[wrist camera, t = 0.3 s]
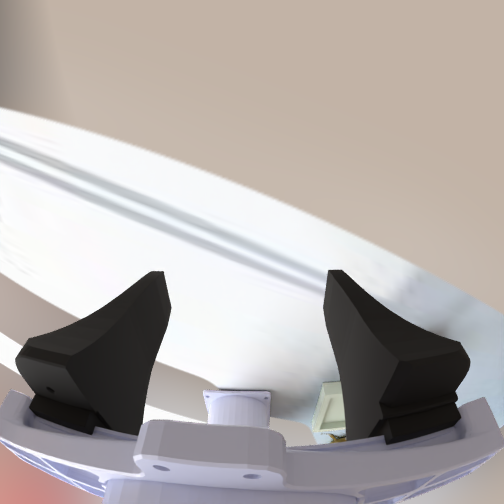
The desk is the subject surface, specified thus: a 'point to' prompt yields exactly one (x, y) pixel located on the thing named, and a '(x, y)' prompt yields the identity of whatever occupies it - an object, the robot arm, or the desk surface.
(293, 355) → the desk surface
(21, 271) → the desk surface
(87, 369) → the robot arm
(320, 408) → the tray
